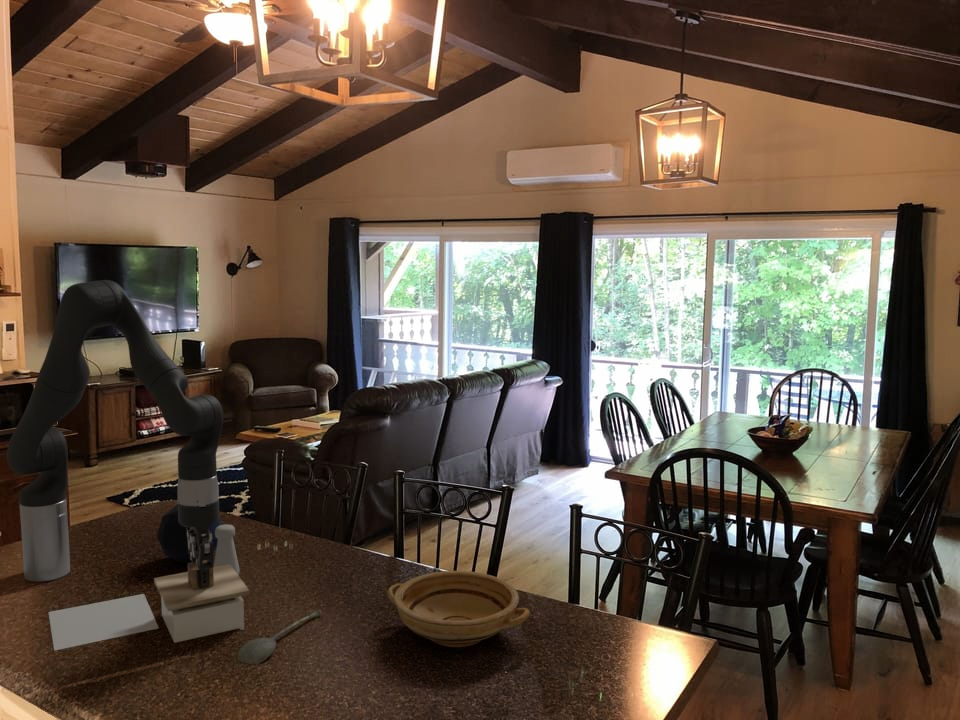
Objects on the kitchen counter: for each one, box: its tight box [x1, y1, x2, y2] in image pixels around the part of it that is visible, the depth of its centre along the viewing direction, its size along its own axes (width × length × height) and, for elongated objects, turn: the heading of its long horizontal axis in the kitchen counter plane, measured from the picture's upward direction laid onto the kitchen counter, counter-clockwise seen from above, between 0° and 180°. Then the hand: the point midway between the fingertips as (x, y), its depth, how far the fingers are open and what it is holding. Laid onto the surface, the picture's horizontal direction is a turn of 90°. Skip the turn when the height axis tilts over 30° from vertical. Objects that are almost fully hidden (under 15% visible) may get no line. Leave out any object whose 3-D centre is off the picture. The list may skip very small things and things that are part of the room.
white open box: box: [160, 596, 245, 644], centre depth 159 cm, size 13×13×6 cm
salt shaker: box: [213, 524, 241, 576], centre depth 178 cm, size 6×6×13 cm
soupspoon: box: [236, 609, 323, 665], centre depth 154 cm, size 22×3×7 cm
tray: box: [48, 593, 160, 652], centre depth 159 cm, size 18×18×1 cm
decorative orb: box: [156, 503, 223, 564], centre depth 190 cm, size 14×15×15 cm
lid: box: [153, 560, 250, 611], centre depth 158 cm, size 15×15×5 cm
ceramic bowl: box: [386, 570, 531, 648], centre depth 156 cm, size 30×24×8 cm
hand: (201, 582), depth 158 cm, fingers closed on lid, 4 cm apart
